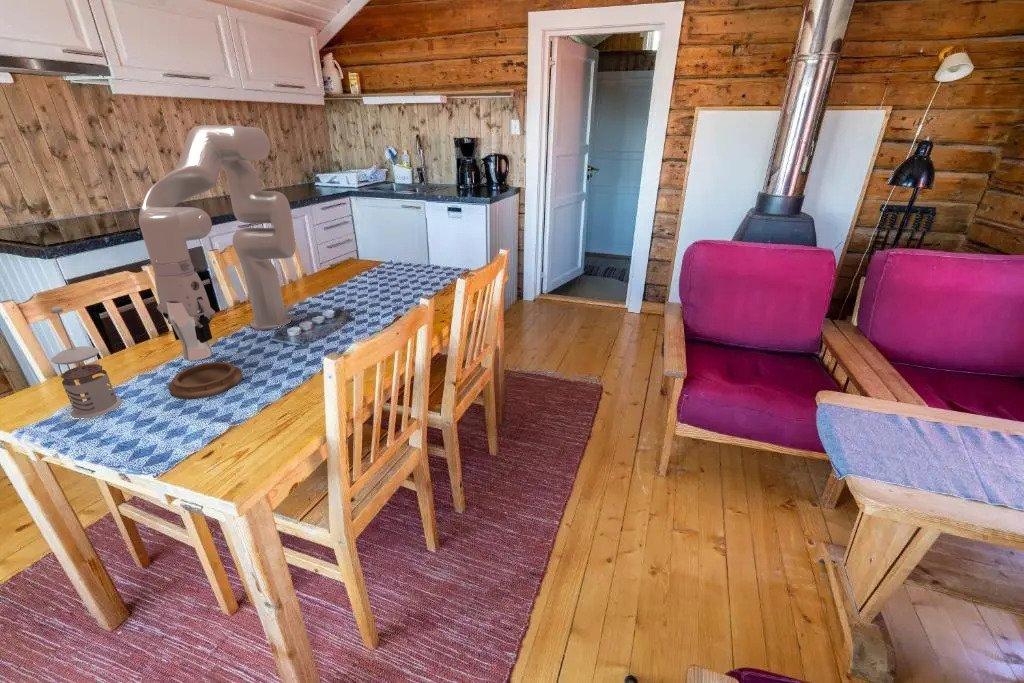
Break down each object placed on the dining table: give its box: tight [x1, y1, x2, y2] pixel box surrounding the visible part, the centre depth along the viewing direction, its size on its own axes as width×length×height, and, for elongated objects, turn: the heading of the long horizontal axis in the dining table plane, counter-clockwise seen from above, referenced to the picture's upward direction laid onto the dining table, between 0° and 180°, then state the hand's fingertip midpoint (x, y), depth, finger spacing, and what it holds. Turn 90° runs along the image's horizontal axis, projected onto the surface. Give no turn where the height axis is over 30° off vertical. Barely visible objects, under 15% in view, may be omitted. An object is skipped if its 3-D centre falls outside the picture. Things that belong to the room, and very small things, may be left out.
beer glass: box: [166, 301, 214, 362], centre depth 114 cm, size 7×7×15 cm
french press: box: [50, 306, 124, 419], centre depth 105 cm, size 10×12×25 cm
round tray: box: [168, 361, 244, 400], centre depth 120 cm, size 16×16×3 cm
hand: (194, 338), depth 115 cm, fingers closed on beer glass, 6 cm apart
